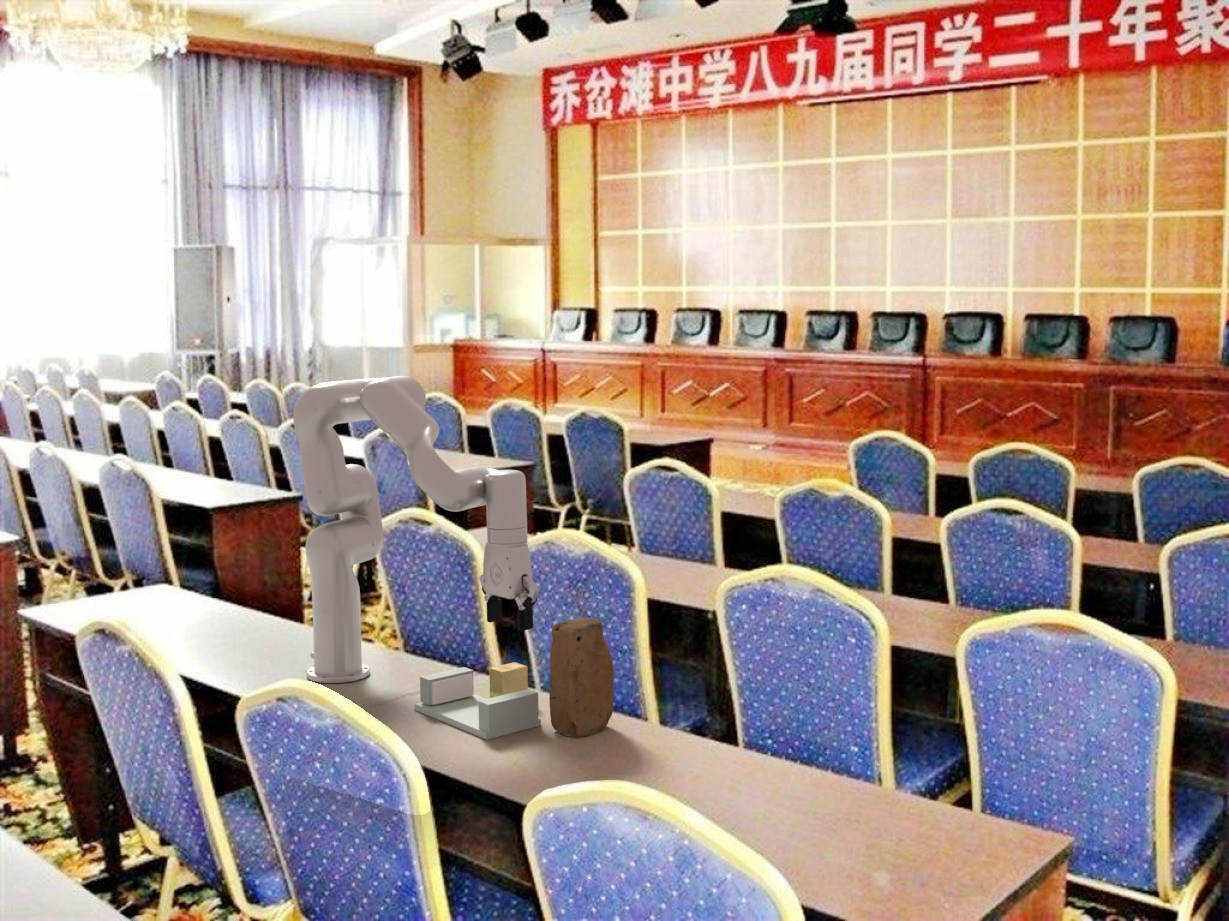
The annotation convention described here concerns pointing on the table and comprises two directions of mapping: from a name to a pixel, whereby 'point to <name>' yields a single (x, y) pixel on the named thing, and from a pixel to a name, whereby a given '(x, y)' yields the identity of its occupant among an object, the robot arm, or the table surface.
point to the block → (580, 678)
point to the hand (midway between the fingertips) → (509, 625)
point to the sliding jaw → (446, 686)
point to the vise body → (488, 713)
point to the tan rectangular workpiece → (508, 679)
